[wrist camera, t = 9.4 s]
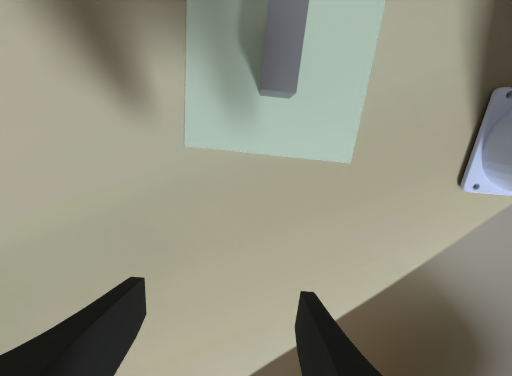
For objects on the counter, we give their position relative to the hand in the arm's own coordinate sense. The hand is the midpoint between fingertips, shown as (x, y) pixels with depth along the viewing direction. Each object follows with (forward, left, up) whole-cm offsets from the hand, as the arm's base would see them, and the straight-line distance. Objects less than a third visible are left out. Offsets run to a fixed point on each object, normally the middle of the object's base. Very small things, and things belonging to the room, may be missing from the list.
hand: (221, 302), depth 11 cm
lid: (-2, -12, -11) cm, 17 cm away
